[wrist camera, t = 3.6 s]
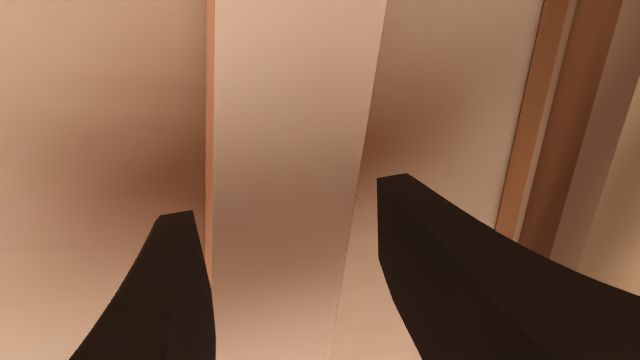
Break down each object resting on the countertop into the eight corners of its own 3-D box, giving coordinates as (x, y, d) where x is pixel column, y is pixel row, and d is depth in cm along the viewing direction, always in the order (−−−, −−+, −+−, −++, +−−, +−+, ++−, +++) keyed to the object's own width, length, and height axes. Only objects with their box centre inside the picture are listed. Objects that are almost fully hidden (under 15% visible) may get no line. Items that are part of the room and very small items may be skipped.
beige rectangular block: (348, -114, 12) (402, -96, 9) (299, 302, 18) (323, 395, 15) (206, -129, 12) (216, -114, 9) (204, 308, 18) (210, 406, 15)
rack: (864, -168, 14) (986, -167, 12) (623, 384, 24) (664, 436, 22) (582, -174, 12) (663, -174, 10) (455, 414, 23) (482, 473, 21)
